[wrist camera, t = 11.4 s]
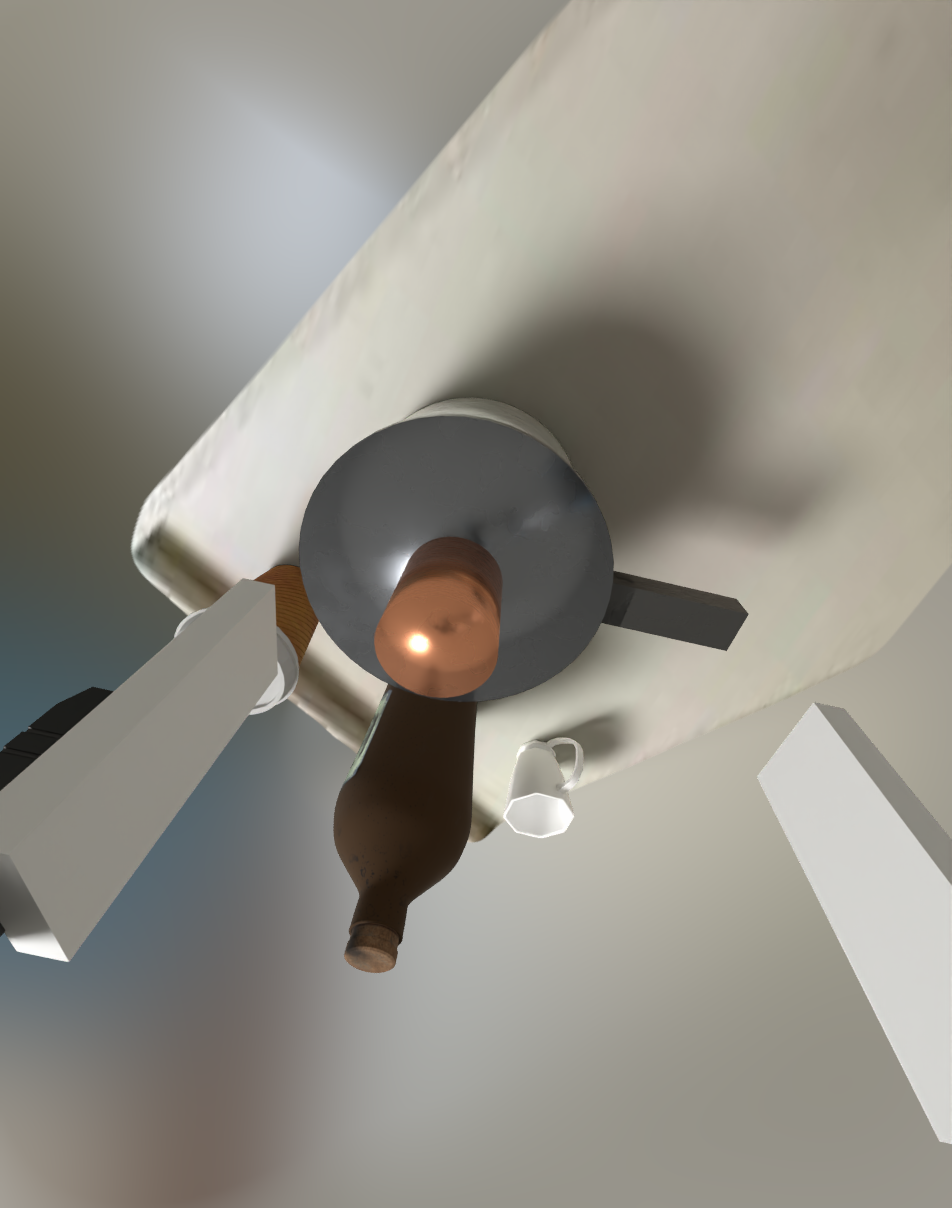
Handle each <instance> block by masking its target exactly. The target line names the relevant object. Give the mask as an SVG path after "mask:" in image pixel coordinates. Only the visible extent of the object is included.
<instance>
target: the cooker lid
mask: <svg viewBox="0 0 952 1208" xmlns="http://www.w3.org/2000/svg"><path fill="white" fill-rule="evenodd" d="M299 558H300V569H301V575H302V580H303V585H304V588H305V591H306V594H307V597H308V600H309V602H310V604H311V606H312V608H313V611H314V613H315V615H316V617H317V619H318V620H319V622H320V623H321V625H322V626H323V628H324V629H325V631H326V633H327V634H328V635H329V636H330V637H331V639H332V640H333V641H334V642H335V644H336V645H337V646H338V647H339V648H340V649H341V650H342V651H343V652H344V653H345V654H346V655H347V656H348V657H349V658H350V659H351V660H353V661H354V662H355V663H356V664H358V665H359V666H360V667H362V668H363V669H364V670H366V671H367V672H369V673H370V674H372V675H374V676H375V677H377V678H378V679H380V680H382V681H384V682H386V683H388V684H390V685H392V686H394V687H396V688H399V689H402V690H404V691H407V692H410V693H412V694H416V695H420V696H424V697H427V698H432V699H438V700H444V701H457V702H474V701H486V700H494V699H500V698H504V697H508V696H512V695H515V694H518V693H521V692H524V691H526V690H529V689H532V688H534V687H536V686H538V685H540V684H541V683H543V682H545V681H547V680H549V679H550V678H552V677H553V676H555V675H556V674H558V673H559V672H561V671H562V670H563V669H564V668H566V667H567V666H568V665H569V664H570V663H571V662H573V661H574V660H575V659H576V658H577V657H578V655H579V654H580V653H581V652H582V651H583V650H584V649H585V648H586V646H587V645H588V644H589V642H590V641H591V639H592V638H593V636H594V635H595V633H596V632H597V630H598V628H599V626H600V624H601V622H602V620H603V618H604V615H605V612H606V609H607V606H608V603H609V600H610V595H611V590H612V584H613V565H614V562H613V553H612V545H611V540H610V536H609V533H608V529H607V526H606V522H605V520H604V518H603V516H602V513H601V511H600V509H599V507H598V504H597V502H596V500H595V498H594V496H593V495H592V493H591V491H590V490H589V488H588V487H587V485H586V484H585V482H584V480H583V479H582V478H581V477H580V476H579V474H578V473H577V472H576V471H575V470H574V469H573V467H572V466H571V465H570V464H569V463H568V462H567V461H566V460H565V459H564V458H562V457H561V456H560V455H559V454H558V453H557V452H556V451H554V450H553V449H552V448H551V447H549V446H548V445H546V444H545V443H543V442H542V441H540V440H539V439H537V438H536V437H534V436H532V435H530V434H528V433H526V432H524V431H522V430H520V429H518V428H516V427H513V426H511V425H508V424H505V423H502V422H499V421H495V420H492V419H489V418H483V417H477V416H471V415H465V414H437V415H428V416H419V417H415V418H412V419H408V420H404V421H400V422H397V423H394V424H392V425H390V426H387V427H385V428H383V429H380V430H378V431H376V432H374V433H373V434H371V435H370V436H368V437H366V438H365V439H363V440H362V441H360V442H358V443H357V444H355V445H354V446H353V447H352V448H350V449H349V450H348V451H347V452H346V453H345V454H343V455H342V456H341V457H340V458H339V459H338V460H336V462H335V463H334V464H333V465H332V466H331V467H330V469H329V470H328V471H327V472H326V473H325V474H324V476H323V477H322V479H321V480H320V482H319V484H318V485H317V487H316V489H315V490H314V492H313V494H312V496H311V499H310V501H309V503H308V506H307V508H306V510H305V514H304V518H303V522H302V526H301V532H300V542H299Z"/></svg>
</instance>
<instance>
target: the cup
mask: <svg viewBox="0 0 952 1208" xmlns="http://www.w3.org/2000/svg"><path fill="white" fill-rule="evenodd" d="M558 744H574V746H575V748H576V761H575V767H574V770H573V772H572V775H571V777H570V778H569V779H568V780H567V781H565V780H564V777H563V774H562V772H561V769H560V767H559V765H558V762H557V761H556V759H555V757H556V753H555V752H554V750H553V749H552V747H554V746H555V745H558ZM517 758H518V759H517V761H516V763H515V767H514V770H513V773H512V776H511V779H510V785H509V790H508V795H507V800H506V805H505V810H504V815H503V817H504V818H505V820H506V821H507V822H508V823H509V825H510V826H511V827H512V828H513V830H514V831H515V832H516V833H521V834H525V835H529V836H533V837H537V838H544V837H548V836H552V835H555V834H559V833H563V832H565V831H566V829H567V828H568V826H569V824H570V823H571V821H572V819H573V818H574V816H575V815H574V812H573V808H572V805H571V801H570V798H569V795H568V791H569V790H570V789H572V788H573V787H574V786H575V785H576V783H577V782H578V781H579V778H580V775H581V773H582V770H583V760H584V757H583V749H582V747H581V745H580V744H579V743H577V742H576V741H574V740H572V739H570V738H555V739H551V740H549V741H548V742H546V743H545V742H541V741H537V740H533V741H530V742H527V743H524V744H521V746H520V748H519V750H518V753H517Z"/></svg>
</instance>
